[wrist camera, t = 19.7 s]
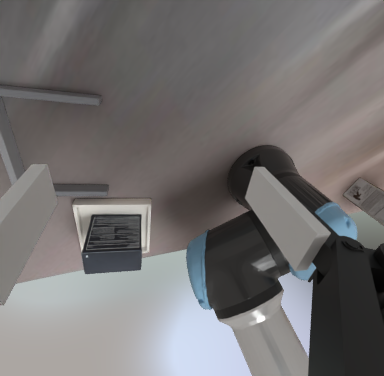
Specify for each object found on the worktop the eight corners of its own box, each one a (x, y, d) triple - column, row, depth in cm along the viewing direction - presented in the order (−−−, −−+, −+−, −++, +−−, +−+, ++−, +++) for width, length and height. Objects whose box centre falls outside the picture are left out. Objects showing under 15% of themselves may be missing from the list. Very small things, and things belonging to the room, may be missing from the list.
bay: (100, 95, 34) (97, 99, 32) (108, 188, 44) (106, 197, 41) (-11, 83, 31) (-25, 86, 28) (24, 188, 40) (16, 197, 38)
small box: (93, 235, 49) (83, 276, 40) (91, 213, 45) (79, 252, 37) (141, 234, 51) (141, 272, 43) (142, 213, 48) (142, 250, 39)
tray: (150, 198, 47) (151, 204, 45) (148, 246, 55) (149, 252, 53) (75, 198, 43) (72, 205, 42) (84, 249, 51) (82, 256, 50)
